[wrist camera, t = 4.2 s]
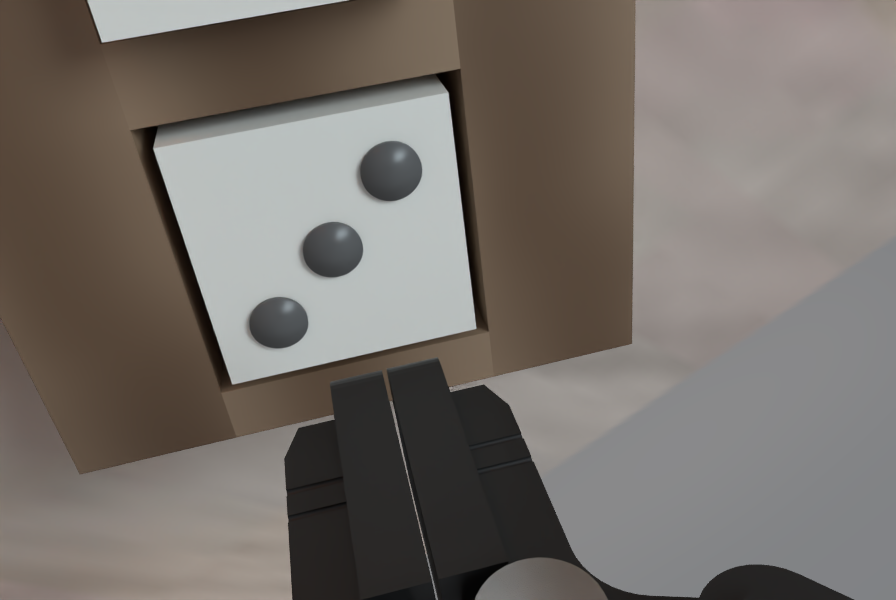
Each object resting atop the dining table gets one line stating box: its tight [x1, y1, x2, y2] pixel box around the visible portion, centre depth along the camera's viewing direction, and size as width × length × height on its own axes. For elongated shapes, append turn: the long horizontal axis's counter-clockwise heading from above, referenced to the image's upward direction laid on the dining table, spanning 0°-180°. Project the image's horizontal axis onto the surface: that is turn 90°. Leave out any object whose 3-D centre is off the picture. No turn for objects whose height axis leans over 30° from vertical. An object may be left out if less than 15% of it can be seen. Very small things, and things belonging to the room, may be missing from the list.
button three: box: [153, 74, 476, 385], centre depth 16 cm, size 5×5×3 cm
